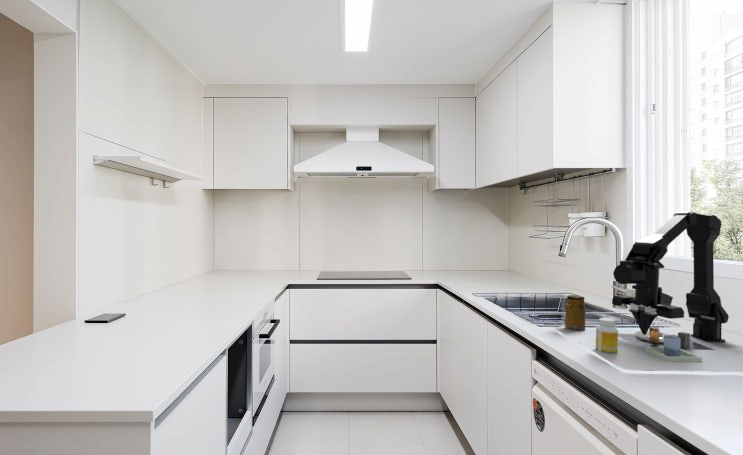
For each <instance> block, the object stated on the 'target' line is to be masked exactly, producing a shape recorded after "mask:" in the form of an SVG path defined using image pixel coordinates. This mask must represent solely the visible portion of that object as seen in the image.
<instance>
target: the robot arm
mask: <svg viewBox="0 0 743 455" xmlns="http://www.w3.org/2000/svg"><path fill="white" fill-rule="evenodd" d="M721 228H722V221H721V219H720V218H719V217H718V216H717V215H715V214H701V213H696V212H694V211H677V212H675V213H673V215H672V217H671V218H670V219H669V220H667V221H666V222H665V223H664V224H663V225H662V226H660V228H659V229H657V231H655V232H654V233H652V234H651V235H649V236H648V235H647V236H645V237H642V238H640V239H639V240H638V239H637V241H635V242H634V243H633V244H632V247H631V249H630V251H629V252H628V254H627V256H626V258H625V259H624V260H620V261H619V265H617V266H615V267H614V270H613V272H612V274H613V278H614V280H615V281H616V282H617V283H618V284H621V285H632V288H631V289H634V296H630V295H627V294H623V295H620V294H619V295H614V296H613V297H612V298H611V304H612V305H613V306H617V307H621V306H623V305H628V306H630V309H628V312H630V313H631V314H632V316H633V318H634V319H635V321H636V323H637V325H638V327H639V329H640V331H641V332H642V334H643V335H646V334H647V331H649V329H650V327H652V326H651V325H652V324H653V322H654V320H655V319H657V317H661V318H665V319H670V320H671V319H672V320H673V319H681V318H682V319H683V318H685V311H684V309H683V308H682V307H681V306H676V305H672V302H673V299H674V297H673V296H671V295H669V294H666V293H664V292H663V288H662V287H661V286H659V285H660V284H659V283H660V281H659V280H660V269H665V265H664V264H663V263H662V262H660V261H661V260H662V259H663V258H664V257H665V255H666V254H667V253H668V246H669V245H670V244H671V243H672V242H673V241H675V239H677V238H678V237H679V236H680V235H681V234H682V233H684V231H685V230H686V235H687V237H688V238H689V239H690V240H691V242H692V243H693V246H692V248H693V249H692V250H693V254H692V255H693V287H692V289H691V290H690V292H686V294H685V300H686V301H685V302H686V303H685V306H686V309H687V313H688V314H687V315H688V318H690V319H691V318H692V319H694V320H693V321H694V323H693V324H692V334H691V333H690V337H693V338H695V339H698V340H701V341H703V342H716V343H718V342H720V343H721V342H726V339H723V338H722V324H727V323H728V320H729V318H730V316H729V314H728V312H727V311H726V309H724V307H723V306H722V301H721V296H720V295H719V294H718V292H717V291H716V290H715V286H714V285H715V284H714V282H715V281H714V277H715V276H714V268H715V267H714V243H715V242H716V240H717V239H718V238H719V236H720V234H721Z"/></svg>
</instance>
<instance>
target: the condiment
mask: <svg viewBox="0 0 743 455" xmlns="http://www.w3.org/2000/svg"><path fill="white" fill-rule="evenodd" d="M566 297H567V298H566V299H567V300H566V304H565V324H564V325H565V329H566V330H567V331H568V330H569V331H573V332H584V331H586V305H585V297H584V296H582V295H572V294H571V295H567V296H566Z"/></svg>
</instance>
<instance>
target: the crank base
mask: <svg viewBox="0 0 743 455" xmlns="http://www.w3.org/2000/svg"><path fill="white" fill-rule="evenodd" d="M671 335H672V336H677V337H680V338H681V342H680V349H682V350H684V351H688V350H689V351H690V350H692V351H693V350H695V351H703V350H704V351H715V349H714V348H711V347H709V346H706V345H703V344H700V343H698V342H695V341H692V340H691V336H690V335H691V333H688V332H685V331H678V332H677V334H671ZM618 338H621V339H623V340H624V341H627V342H629V343H632V344H633V345H635V346H637V347H640V348H642V349H644V350H645V347H664V343H652V342H649V341H646V340H642V339H639V338H637V337H636V336H635V333H618Z"/></svg>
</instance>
